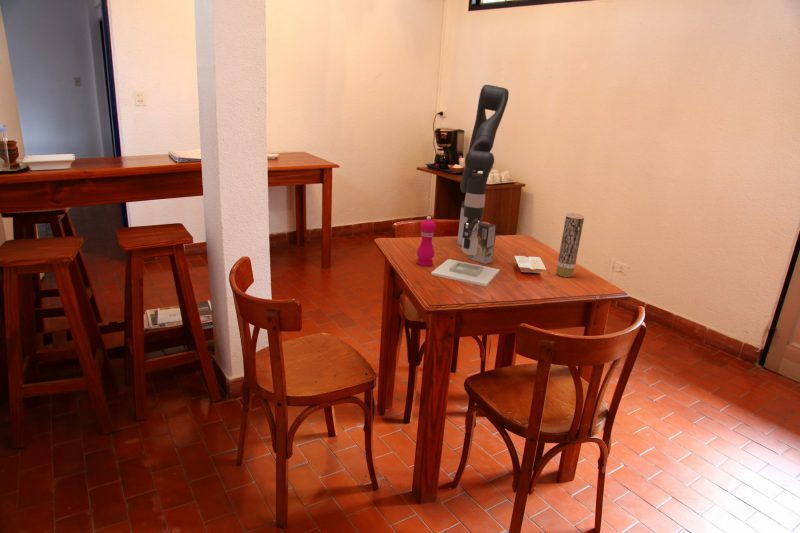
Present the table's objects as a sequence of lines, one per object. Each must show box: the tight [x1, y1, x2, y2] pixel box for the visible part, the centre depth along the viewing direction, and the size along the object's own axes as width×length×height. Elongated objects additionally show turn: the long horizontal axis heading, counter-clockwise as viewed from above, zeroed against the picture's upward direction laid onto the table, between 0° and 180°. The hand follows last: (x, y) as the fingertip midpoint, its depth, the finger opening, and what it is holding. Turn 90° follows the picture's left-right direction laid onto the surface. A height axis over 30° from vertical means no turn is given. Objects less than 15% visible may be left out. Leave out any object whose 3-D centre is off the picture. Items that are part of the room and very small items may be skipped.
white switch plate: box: [430, 258, 501, 287], centre depth 212 cm, size 20×22×2 cm
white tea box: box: [461, 229, 478, 256], centre depth 208 cm, size 4×7×10 cm, turn 13°
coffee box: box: [467, 220, 498, 265], centre depth 227 cm, size 9×6×16 cm
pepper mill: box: [416, 215, 437, 267], centre depth 216 cm, size 7×7×20 cm
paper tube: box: [555, 212, 585, 278], centre depth 214 cm, size 7×7×25 cm
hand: (469, 245), depth 208 cm, fingers closed on white tea box, 7 cm apart
